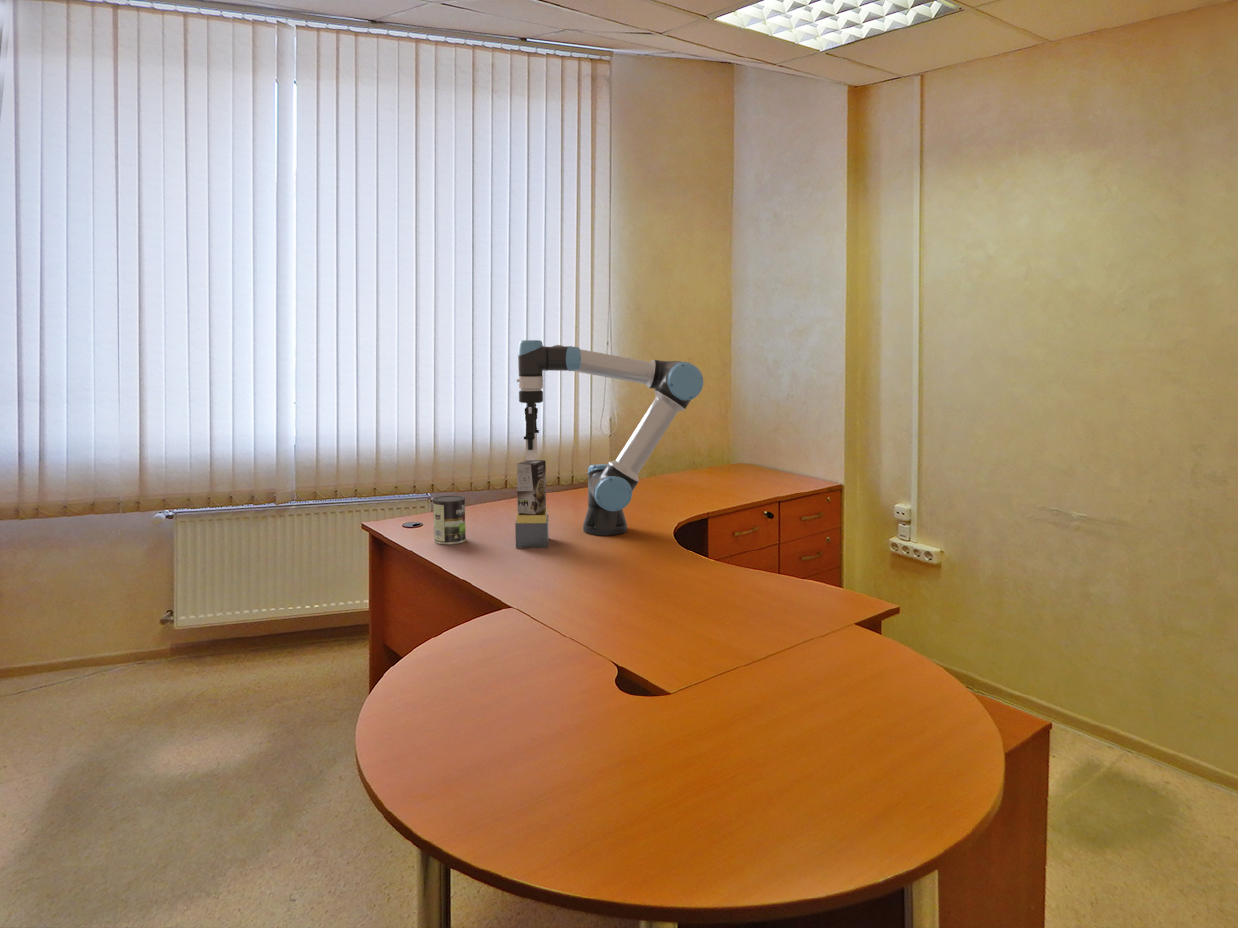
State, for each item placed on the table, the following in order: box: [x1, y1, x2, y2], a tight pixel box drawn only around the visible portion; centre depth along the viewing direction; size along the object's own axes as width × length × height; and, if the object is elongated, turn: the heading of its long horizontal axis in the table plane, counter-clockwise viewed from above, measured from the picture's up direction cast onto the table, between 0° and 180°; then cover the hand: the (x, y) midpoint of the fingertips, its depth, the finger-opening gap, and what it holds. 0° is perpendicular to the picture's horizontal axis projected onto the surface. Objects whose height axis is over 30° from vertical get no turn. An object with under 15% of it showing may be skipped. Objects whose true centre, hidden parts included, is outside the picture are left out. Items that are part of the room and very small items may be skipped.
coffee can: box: [432, 495, 467, 545], centre depth 274 cm, size 10×10×14 cm
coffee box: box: [516, 459, 547, 515], centre depth 270 cm, size 9×6×16 cm
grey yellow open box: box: [514, 506, 550, 549], centre depth 272 cm, size 10×12×10 cm
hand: (531, 456), depth 268 cm, fingers open, 13 cm apart
